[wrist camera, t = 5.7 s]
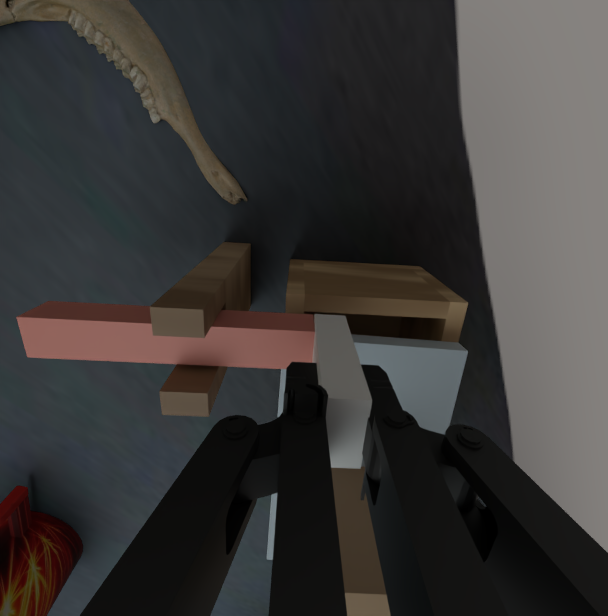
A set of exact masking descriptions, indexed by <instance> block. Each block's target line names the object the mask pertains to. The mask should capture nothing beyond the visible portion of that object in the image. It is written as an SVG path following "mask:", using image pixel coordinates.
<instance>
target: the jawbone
mask: <svg viewBox="0 0 608 616" xmlns="http://www.w3.org/2000/svg"><path fill="white" fill-rule="evenodd" d="M28 20H33V21H69V22H68V24H71V26H72V28H73V30H76V31H77V34H78V36H79V37H81V36H84V37H85V38H86V41H87V42H88V43H89V45H90V44H95V45H96V47H97V50H98V52H99V54H101V53H105V54H106V57H107V60H108V62H110V61H112V60H113V61H114V64H115V66H116V69H120V70H122V71H123V72H122V73H123V75H124V77H125V78H129V79H130V80H131V81H132V82H133V86H134V87H135V92H139V93H140V94H141V98H142V99H141V100H142V103H143V107H145V108H147V109H148V110H149V114H150V117H151V119H152V122H153V123H158V122H159V121H160V120H161V119H163V120H166V121H167V122H168V123H169V124H170V125H171V126H172V127H173V129H174V130H175V131H176V132H177V133H178V134H179V135H180V136H181V137H182V138H183V140H184V141H185V142H186V144H187V145H188V147H189V148H190V150H191V151H192V153H193V155H194V157H195V160H196V162H197V164H198V166H199V168H200V169H201V171H202V173H203V174H204V176H205V178H206V179H207V181H208V182H209V183H210V184H211V185H212V187H213V188H214V189H215V190H216V191H217V192H218V193H219V194H220V196H221V197H222V198H223V199H225V200H227V201H228V202H229V203H231V204H233V205H235V204H237V203H240V202H239V200H242V199H239V198H243V199H244V200H245V201H246V202H247V198H246V196H245V194H244V193H243V191H242V189H241V187H240V185H239V183H238V182H237V181H236V179H235V178H234V177H233V176H232V175H231V173H230V172H229V171H228V170H227V169H226V168H225V167H224V165H223V164H222V163H221V162H220V161H219V159H218V158H217V157H216V156H215V154H214V153H213V152H212V151H211V149H210V148H209V146H208V145H207V143H206V142H205V140H204V138H203V137H202V135H201V133H200V131H199V128H198V126H197V124H196V121H195V119H194V116H193V114H192V111H191V109H190V106H189V104H188V101H187V98H186V96H185V93H184V91H183V88H182V86H181V83H180V81H179V78H178V76H177V74H176V72H175V69H174V67H173V65H172V63H171V61H170V59H169V57H168V55H167V53H166V51H165V50H164V48H163V46H162V44H161V43H160V41H159V40H158V38H157V37H156V35H155V34H154V32H153V31H152V30H151V28H150V27H149V26H148V24H147V23H146V22H145V21H144V19H143V18H142V17H141V15H140V14H139V13H138V12H137V10H136V9H135V8H134V7H133V6H132V4H131V3H130V2H129V1H128V0H0V26H2V25H6V24H10V23H14V22H16V21H17V22H21V21H28ZM238 199H239V200H238ZM244 200H243V201H244Z"/></svg>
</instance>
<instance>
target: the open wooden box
mask: <svg viewBox="0 0 608 616" xmlns="http://www.w3.org/2000/svg"><path fill="white" fill-rule="evenodd" d="M467 306H468V302H466V301H465V300H464V299H462V298H461V297H460V296H458V295H457V294H456V293H454V292H453V291H452V290H451V289H449V288H448V287H447V286H445V285H444V284H443V283H441V282H440V281H439V280H437V279H436V278H435V277H433V276H432V275H431V274H429V273H428V272H427V271H425V270H424V269H423V268H421V267H420V266H405V265H387V264H370V263H352V262H334V261H317V260H299V259H290V266H289V274H288V283H287V292H286V313H292V314H312V315H313V317H314V314H324V315H341V316H345V317H346V320H347V323H348V326H349V329H350V332H351V334H355V335H368V336H381V337H393V338H406V339H419V340H432V341H445V342H458V341H459V337H460V333H461V330H462V326H463V322H464V318H465V314H466V310H467Z"/></svg>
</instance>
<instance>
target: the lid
mask: <svg viewBox="0 0 608 616" xmlns="http://www.w3.org/2000/svg"><path fill="white" fill-rule="evenodd" d="M351 335H352V339H353V342H354V345H355V348H356V351H357V354H358V357H359V360H360V364H363V365H379V366H380V367H381V368H382V369H383V370H384V371H385V372H386V373H387V375H388V377H389V380H390V382H391V384H392V386H393V389H394V391H395V393H396V396H397V398H398V400H399V402H400V405H401V407H402V409H403V410H404V411H407V412H408V413H409V414H411V415H412V416H413V417H414V418H415V419H416V421H417V422H418V425H419V427H421V428H424V429H426V430H429V431H433V432H437V433H440V434H444V435H445V431H446V430H447V428H448V427H449V425H450V421H451V417H452V413H453V409H454V405H455V401H456V398H457V394H458V390H459V386H460V382H461V378H462V374H463V370H464V366H465V362H466V358H467V354H468V351H467V350H466V349H465V348H464V347H463V346H462V345H460V344H459V343H458V342H445V341H432V340H419V339H406V338H393V337H381V336H368V335H355V334H351ZM285 381H286V369H281V378H280V392H279V405H278V417H279V416H280V415H281V414H282V412H283V402H284V392H285ZM331 471H332V480H333V489H334V498H335V507H336V516H337V526H338V535H339V544H340V553H341V562H342V572H343V581H344V590H345V599H346V608H347V616H391V614H390V610H389V605H388V600H387V595H386V590H385V585H384V580H383V575H382V570H381V565H380V561H379V556H378V551H377V546H376V541H375V536H374V531H373V526H372V521H371V516H370V512H369V507H368V502H367V497H366V493H365V497H364V500H361V490H362V484H363V478H364V473H365V464H364V459H363V458H362V464H361V469H354V468H331ZM276 506H277V493H275V494H272V496H271V509H270V522H269V535H268V548H267V559H268V560H273V549H274V535H275V520H276Z"/></svg>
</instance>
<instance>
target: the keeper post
mask: <svg viewBox="0 0 608 616" xmlns="http://www.w3.org/2000/svg"><path fill="white" fill-rule="evenodd" d="M250 306H251V244H249V243H232V242H223V243H222V244H221V245H220V246H219V247H218V248H216V249H215V250H214V251H213V252H212V253H211V254H210V255H208V256H207V257H206V258H205V259H204V260H203V261H202V262H200V263H199V264H198V265H197V266H196V267H195V268H194V269H192V270H191V271H190V272H189V273H188V274H187V275H186V276H184V277H183V278H182V279H181V280H180V281H179V282H178V283H176V284H175V285H174V286H173V287H172V288H171V289H170V290H168V291H167V292H166V293H165V294H164V295H163V296H162V297H161V298H159V299H158V300H157V301H156V302H155V303H154V304H153V305H151V306H150V314H151V323H152V332H153V336H172V337H192V338H205V337H206V335H207V333H208V331H209V330H210V328H211V326H212V325H213V323H214V321H215V320H216V318H217V316H218V314H219V313H220V311H221V310H233V311H249V309H250ZM227 367H228V366H206V365H184V364H177V365H176V367H175V368H174V370H173V371H172V373H171V374H170V376H169V377H168V379H167V381H166V382H165V384H164V385H163V387H162V388H161V390H160V391H159V392H160V401H161V409H162V415H181V416H206V417H209V415H210V412H211V410H212V407H213V404H214V402H215V399H216V396H217V394H218V391H219V388H220V386H221V383H222V380H223V378H224V375H225V372H226V370H227Z"/></svg>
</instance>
